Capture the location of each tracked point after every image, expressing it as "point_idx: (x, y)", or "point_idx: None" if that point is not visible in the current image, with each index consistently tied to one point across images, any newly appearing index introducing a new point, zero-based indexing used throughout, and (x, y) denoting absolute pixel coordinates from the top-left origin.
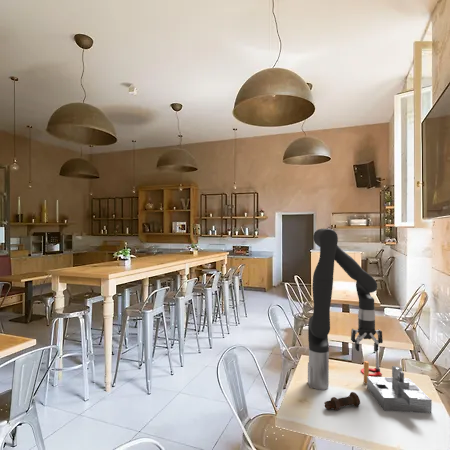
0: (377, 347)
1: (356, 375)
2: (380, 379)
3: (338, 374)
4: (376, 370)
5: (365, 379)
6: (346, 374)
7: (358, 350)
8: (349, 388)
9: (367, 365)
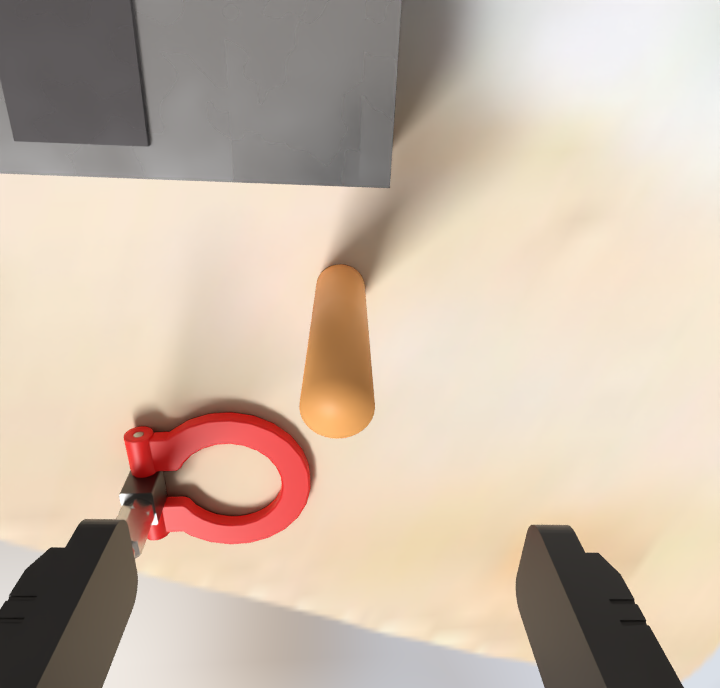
0: (19, 624)
1: (381, 422)
2: (226, 88)
3: (550, 431)
4: (159, 491)
5: (356, 283)
6: (471, 435)
7: (557, 533)
8: (588, 140)
9: (332, 356)
